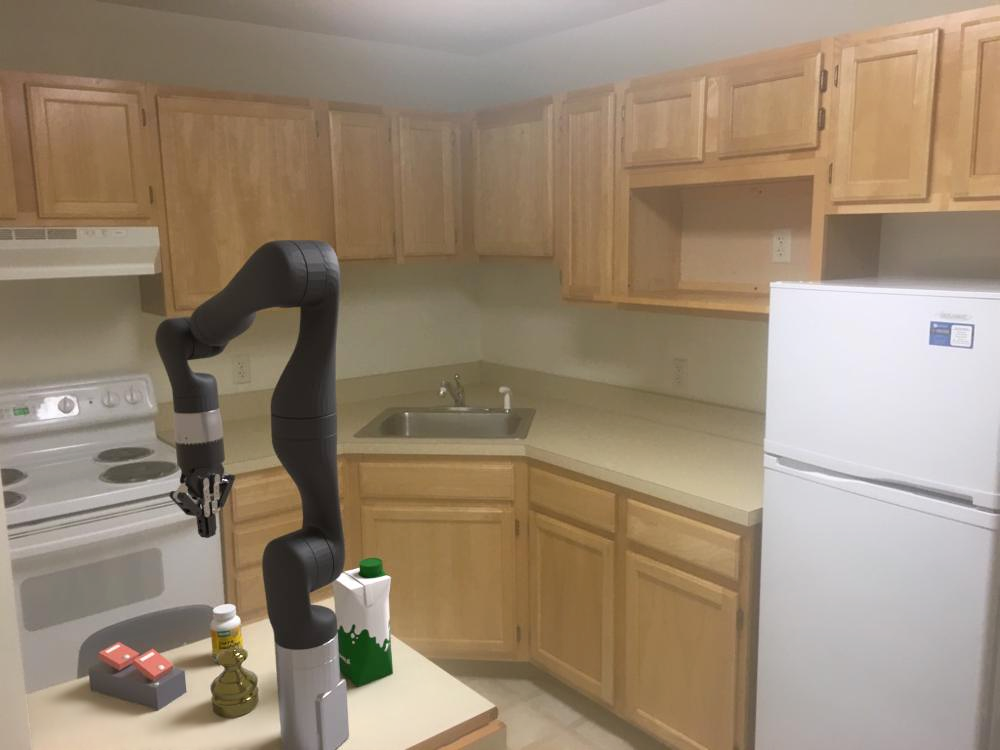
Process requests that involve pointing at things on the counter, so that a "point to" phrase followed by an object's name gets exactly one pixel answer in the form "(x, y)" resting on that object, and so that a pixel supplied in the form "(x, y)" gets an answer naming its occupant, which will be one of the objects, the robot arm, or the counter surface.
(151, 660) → the near rocker
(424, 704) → the counter surface
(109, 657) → the far rocker
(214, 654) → the supplement bottle
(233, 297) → the robot arm
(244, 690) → the gold chess piece
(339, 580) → the milk carton
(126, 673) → the switch box
